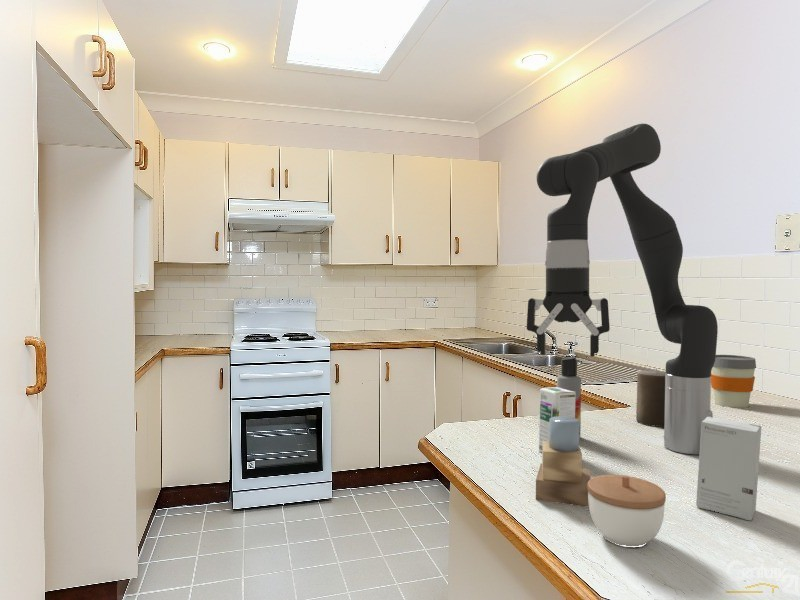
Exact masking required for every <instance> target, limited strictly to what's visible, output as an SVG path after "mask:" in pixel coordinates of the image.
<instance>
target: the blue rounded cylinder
mask: <svg viewBox="0 0 800 600" xmlns="http://www.w3.org/2000/svg"><path fill="white" fill-rule="evenodd" d="M579 434H580V435H581V432H580V421H579V420H578V419H575V418H571V417H562V416H558V417H551V418H550V419H549V447H550V448H551V449H553V450H556V451H561V452H575V451H578V450H579V446H580V439H579Z"/></svg>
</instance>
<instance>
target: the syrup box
mask: <svg viewBox="0 0 800 600" xmlns="http://www.w3.org/2000/svg"><path fill="white" fill-rule="evenodd" d="M575 395H576V393H575V392H574V391H569V390H566V389H562V388H559V387H557V386H553V387H551V386H550V387H542V388H540V389H539V423H538V425H539V427H538V428H539V429H538V430H539V432H538V452H539V453H542V441H549V419H550V418H551V417H558V416H562V417H571V418H575Z"/></svg>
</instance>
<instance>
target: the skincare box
mask: <svg viewBox="0 0 800 600" xmlns="http://www.w3.org/2000/svg"><path fill="white" fill-rule="evenodd" d="M761 437H762V425H759V424H753V423H747V422H742V421H737V420H732V419H727V418H720V417H714V416H713V417H707V418H706V419H705V420H703V421H702V427H701V440H700V454H698V455H699V456H698V458H699V459H698V472H697V486H696V502H695V504H696V505H695V506H696V508H698V509H701V510H706V511H710V510H711V511H710V512H714V511H715V513H718V512H719V514H724V515H728V516H732V517H736V518H739V519H742V520H746V521H752V520H753V518H754V515H755V512H756V509H757V497H758V481H759V468H760V467H759V466H760V453H761V441H762V440H761V439H762V438H761Z"/></svg>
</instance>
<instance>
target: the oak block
mask: <svg viewBox="0 0 800 600" xmlns="http://www.w3.org/2000/svg"><path fill="white" fill-rule="evenodd" d="M541 453H542V454H541V460H542V461H541V463H542V474H543V479H544V480H555V481H566V482H577V483H582V467H583V464H582V463H583V454H582V450H581V446H580V445H579V450H578V451H575V452H561V451H556V450H553V449H551V448H550V447H549V441H542V452H541Z"/></svg>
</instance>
